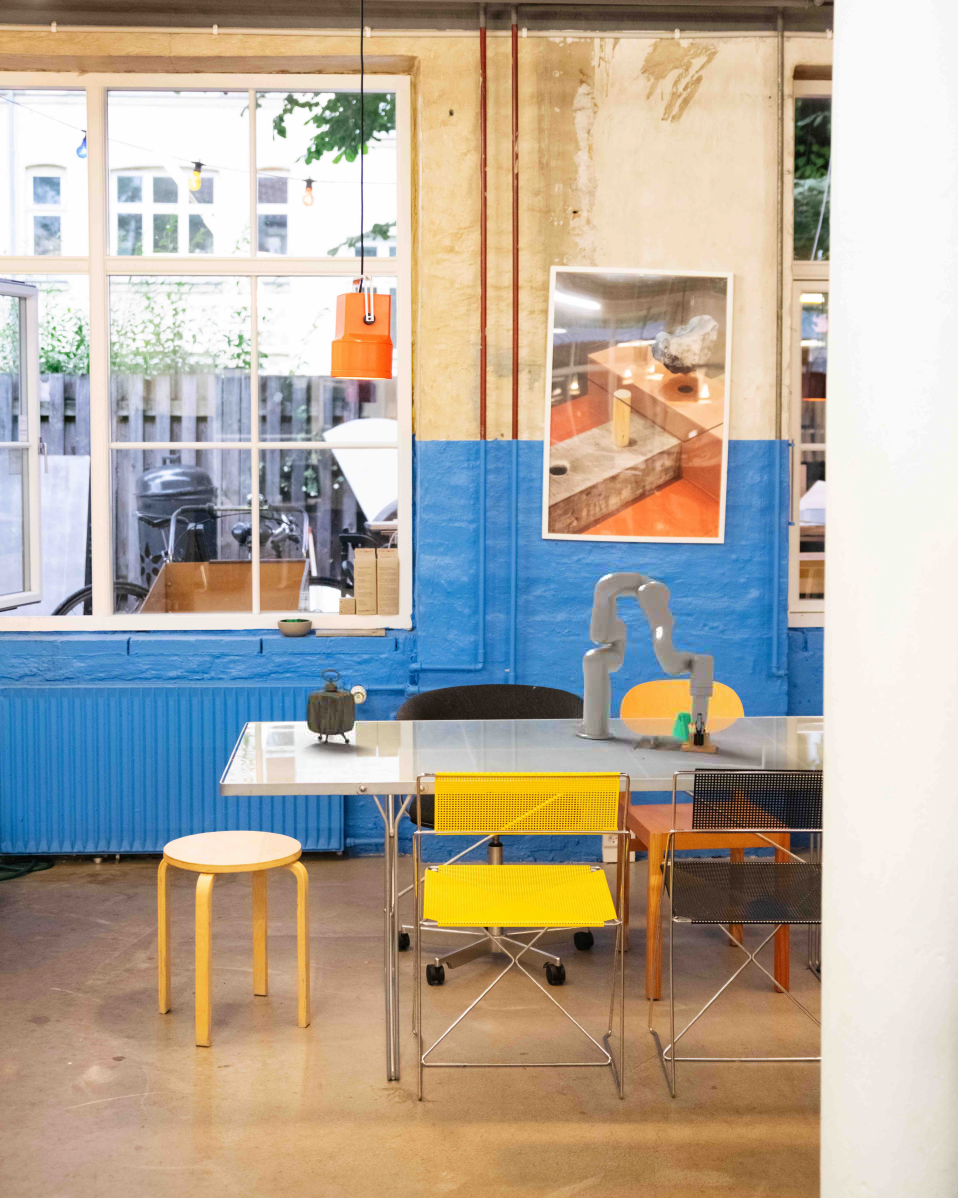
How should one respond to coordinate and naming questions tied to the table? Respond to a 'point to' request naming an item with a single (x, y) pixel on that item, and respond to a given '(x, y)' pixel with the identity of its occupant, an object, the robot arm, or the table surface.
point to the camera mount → (682, 726)
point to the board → (661, 745)
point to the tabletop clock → (331, 710)
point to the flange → (705, 748)
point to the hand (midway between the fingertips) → (699, 742)
